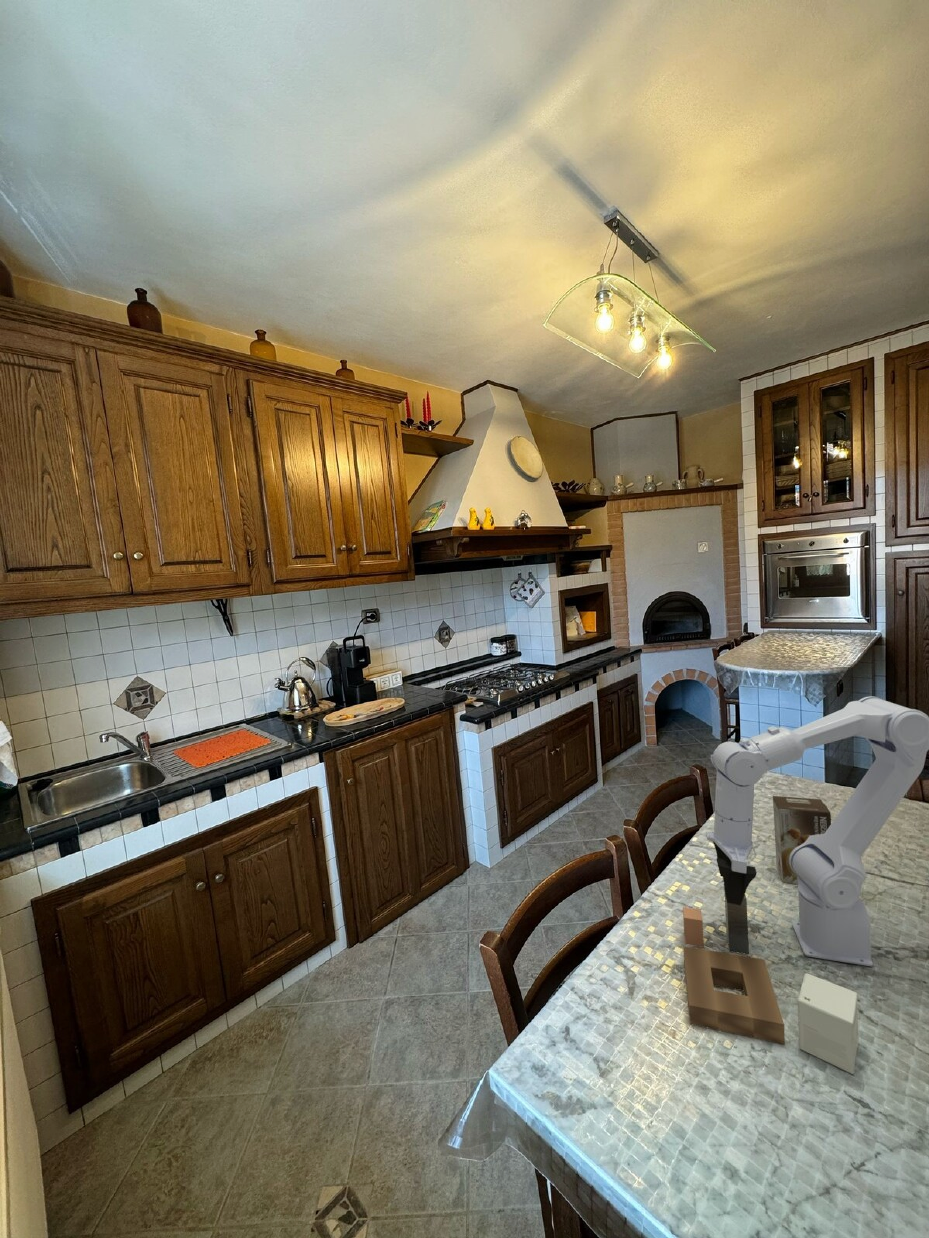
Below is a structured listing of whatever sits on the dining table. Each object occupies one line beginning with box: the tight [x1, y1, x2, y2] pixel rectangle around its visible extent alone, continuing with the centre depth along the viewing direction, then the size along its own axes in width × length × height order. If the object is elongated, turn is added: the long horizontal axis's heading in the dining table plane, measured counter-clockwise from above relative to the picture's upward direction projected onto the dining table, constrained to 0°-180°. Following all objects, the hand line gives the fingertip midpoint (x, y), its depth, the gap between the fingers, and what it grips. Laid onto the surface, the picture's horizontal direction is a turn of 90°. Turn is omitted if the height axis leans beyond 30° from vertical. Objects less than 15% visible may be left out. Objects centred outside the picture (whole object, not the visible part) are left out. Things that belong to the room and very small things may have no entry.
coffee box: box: [772, 795, 832, 885], centre depth 102 cm, size 9×6×16 cm
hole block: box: [682, 945, 786, 1045], centre depth 76 cm, size 12×12×3 cm
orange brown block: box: [682, 906, 705, 948], centre depth 88 cm, size 3×3×5 cm
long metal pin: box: [723, 890, 750, 955], centre depth 85 cm, size 3×3×10 cm
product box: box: [797, 972, 860, 1075], centre depth 67 cm, size 6×6×7 cm
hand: (729, 888), depth 85 cm, fingers open, 7 cm apart
